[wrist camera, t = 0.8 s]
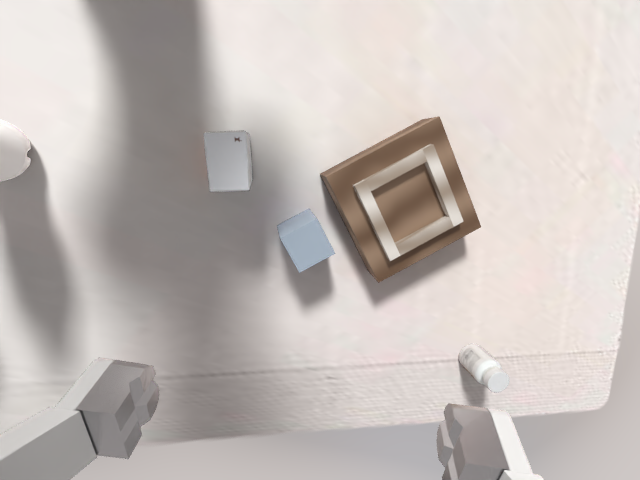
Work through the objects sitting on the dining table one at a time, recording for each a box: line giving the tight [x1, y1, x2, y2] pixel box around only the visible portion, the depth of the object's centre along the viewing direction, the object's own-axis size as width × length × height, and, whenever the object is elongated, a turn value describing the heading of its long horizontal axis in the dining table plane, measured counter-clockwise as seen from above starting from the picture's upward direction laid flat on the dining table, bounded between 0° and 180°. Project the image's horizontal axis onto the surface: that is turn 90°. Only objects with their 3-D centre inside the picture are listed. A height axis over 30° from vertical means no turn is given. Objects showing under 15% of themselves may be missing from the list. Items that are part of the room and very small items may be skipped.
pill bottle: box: [459, 343, 509, 393], centre depth 58 cm, size 4×4×8 cm
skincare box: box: [204, 131, 253, 192], centre depth 43 cm, size 6×4×12 cm
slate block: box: [277, 209, 335, 273], centre depth 49 cm, size 5×5×8 cm
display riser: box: [320, 117, 481, 283], centre depth 50 cm, size 16×16×6 cm
